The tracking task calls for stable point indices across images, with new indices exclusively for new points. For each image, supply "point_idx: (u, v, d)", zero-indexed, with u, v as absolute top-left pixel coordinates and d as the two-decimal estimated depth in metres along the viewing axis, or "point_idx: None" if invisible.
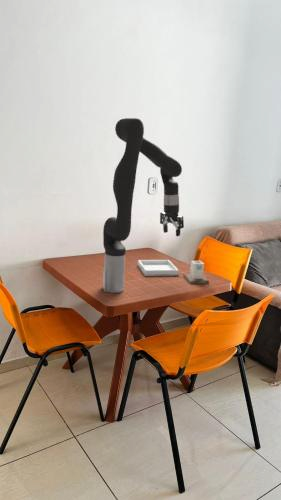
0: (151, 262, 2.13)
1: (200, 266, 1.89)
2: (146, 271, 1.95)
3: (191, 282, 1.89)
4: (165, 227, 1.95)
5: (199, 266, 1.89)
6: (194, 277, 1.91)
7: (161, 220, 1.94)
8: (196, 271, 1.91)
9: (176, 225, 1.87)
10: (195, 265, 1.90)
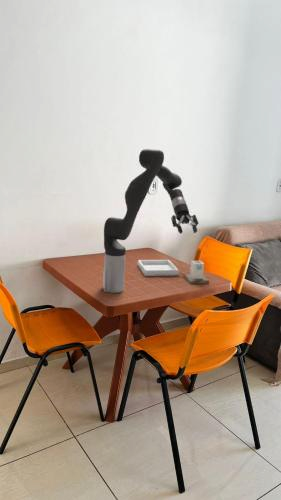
0: (151, 262, 2.13)
1: (200, 266, 1.89)
2: (146, 271, 1.95)
3: (191, 282, 1.89)
4: None
5: (199, 266, 1.89)
6: (194, 277, 1.91)
7: None
8: (196, 271, 1.91)
9: (193, 221, 2.02)
10: (195, 265, 1.90)
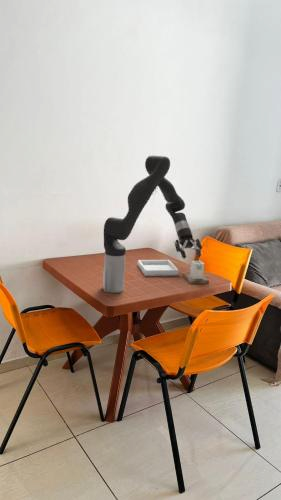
0: (151, 262, 2.13)
1: (200, 266, 1.89)
2: (146, 271, 1.95)
3: (191, 282, 1.89)
4: None
5: (199, 266, 1.89)
6: (194, 277, 1.91)
7: (179, 246, 1.96)
8: (196, 271, 1.91)
9: (197, 246, 2.00)
10: (195, 265, 1.90)
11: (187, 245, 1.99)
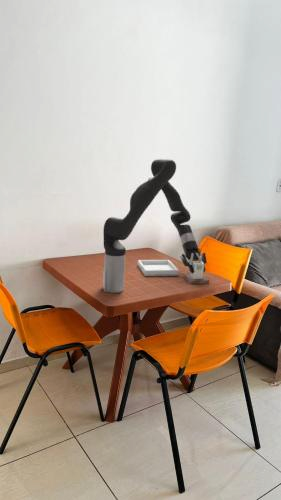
0: (151, 262, 2.13)
1: (200, 266, 1.89)
2: (146, 271, 1.95)
3: (191, 282, 1.89)
4: None
5: (199, 266, 1.89)
6: (194, 277, 1.91)
7: (186, 260, 1.92)
8: (196, 271, 1.91)
9: (202, 260, 1.95)
10: (195, 265, 1.90)
11: (194, 258, 1.94)
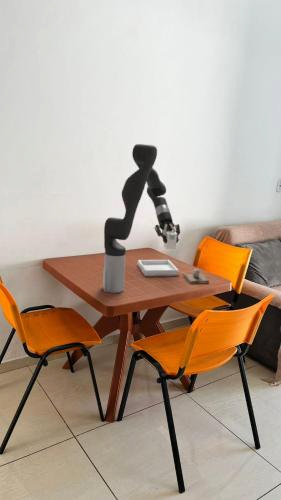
0: (151, 262, 2.13)
1: (173, 236, 1.94)
2: (146, 271, 1.95)
3: (191, 282, 1.89)
4: None
5: (172, 236, 1.94)
6: (167, 247, 1.96)
7: (160, 230, 1.97)
8: (169, 240, 1.96)
9: (175, 231, 2.00)
10: (168, 235, 1.95)
11: (167, 229, 1.99)
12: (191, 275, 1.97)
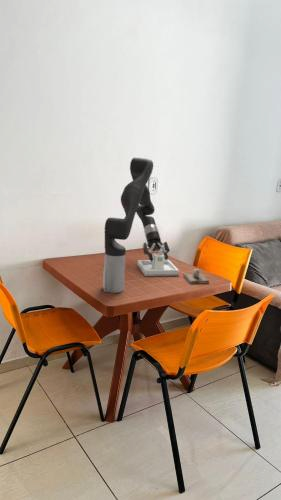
0: (151, 262, 2.13)
1: (160, 258, 2.01)
2: (146, 271, 1.95)
3: (191, 282, 1.89)
4: None
5: (160, 258, 2.01)
6: (155, 268, 2.03)
7: (146, 249, 2.03)
8: (157, 262, 2.02)
9: (164, 249, 2.07)
10: (156, 257, 2.01)
11: (155, 248, 2.05)
12: (191, 275, 1.97)
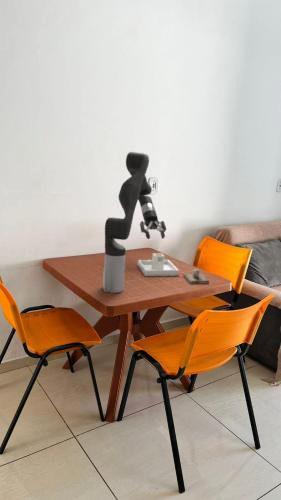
0: (151, 262, 2.13)
1: (160, 258, 2.01)
2: (146, 271, 1.95)
3: (191, 282, 1.89)
4: None
5: (160, 258, 2.01)
6: (155, 268, 2.03)
7: None
8: (157, 262, 2.02)
9: None
10: (156, 257, 2.01)
11: (152, 226, 2.07)
12: (191, 275, 1.97)
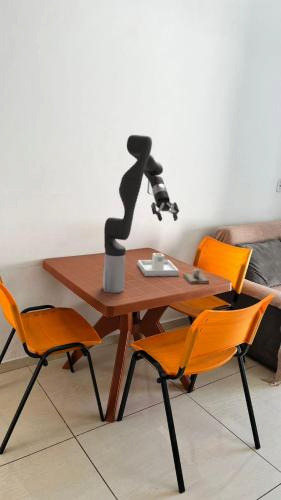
0: (151, 262, 2.13)
1: (160, 258, 2.01)
2: (146, 271, 1.95)
3: (191, 282, 1.89)
4: None
5: (160, 258, 2.01)
6: (155, 268, 2.03)
7: (155, 208, 1.94)
8: (157, 262, 2.02)
9: (174, 209, 1.97)
10: (156, 257, 2.01)
11: (164, 208, 1.96)
12: (191, 275, 1.97)
